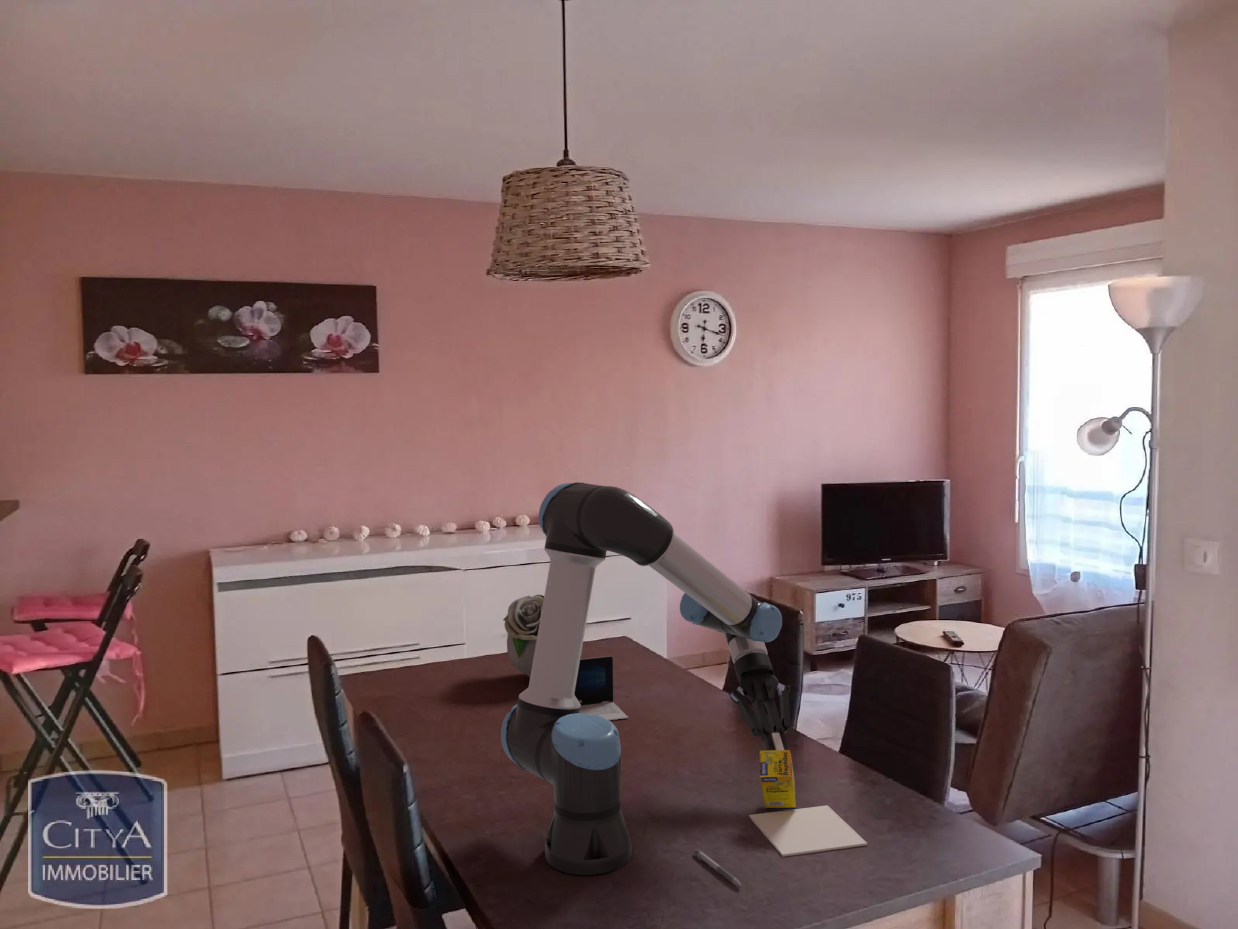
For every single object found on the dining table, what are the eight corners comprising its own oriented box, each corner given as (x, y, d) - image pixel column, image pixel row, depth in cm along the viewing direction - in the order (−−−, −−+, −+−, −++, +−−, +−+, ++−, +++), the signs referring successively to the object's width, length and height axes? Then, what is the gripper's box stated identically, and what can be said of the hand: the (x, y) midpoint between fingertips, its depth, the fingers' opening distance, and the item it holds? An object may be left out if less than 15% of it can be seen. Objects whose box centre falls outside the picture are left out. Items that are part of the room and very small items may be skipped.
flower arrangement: (494, 694, 257) (492, 604, 255) (508, 667, 282) (506, 585, 280) (586, 693, 256) (584, 604, 254) (592, 667, 281) (590, 585, 279)
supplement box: (796, 809, 182) (791, 777, 176) (765, 810, 183) (759, 778, 177) (795, 782, 187) (790, 749, 180) (764, 783, 188) (758, 750, 181)
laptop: (557, 729, 230) (556, 676, 229) (545, 712, 242) (544, 662, 241) (628, 720, 236) (627, 668, 235) (613, 704, 248) (612, 655, 247)
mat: (867, 845, 169) (867, 843, 169) (782, 856, 165) (782, 854, 165) (827, 807, 184) (827, 805, 184) (749, 817, 180) (749, 815, 180)
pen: (697, 854, 167) (697, 846, 167) (743, 890, 154) (743, 882, 154) (692, 855, 166) (692, 848, 166) (738, 892, 154) (738, 883, 154)
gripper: (774, 666, 204) (808, 771, 190) (717, 671, 201) (746, 778, 187) (784, 648, 199) (819, 755, 184) (725, 653, 196) (756, 762, 181)
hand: (782, 767), depth 185 cm, fingers closed
